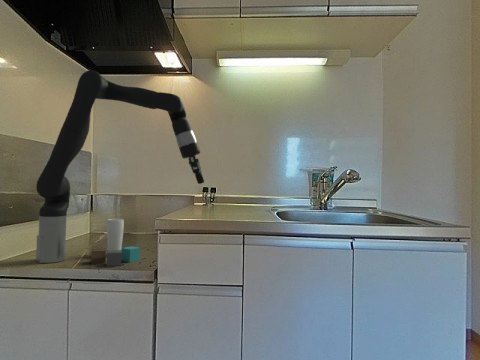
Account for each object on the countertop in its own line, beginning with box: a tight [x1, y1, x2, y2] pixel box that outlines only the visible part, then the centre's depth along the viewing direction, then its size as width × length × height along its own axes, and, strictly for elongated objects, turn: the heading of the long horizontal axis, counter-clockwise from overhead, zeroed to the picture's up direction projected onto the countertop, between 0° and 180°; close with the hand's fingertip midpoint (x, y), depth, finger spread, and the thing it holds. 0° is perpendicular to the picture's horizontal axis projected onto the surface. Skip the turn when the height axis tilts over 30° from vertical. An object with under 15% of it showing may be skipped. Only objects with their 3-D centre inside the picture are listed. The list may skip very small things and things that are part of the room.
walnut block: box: [90, 247, 107, 265], centre depth 129 cm, size 5×5×5 cm
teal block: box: [121, 245, 141, 263], centre depth 133 cm, size 5×5×5 cm
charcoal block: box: [106, 249, 122, 268], centre depth 126 cm, size 5×5×5 cm
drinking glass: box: [106, 218, 125, 250], centre depth 142 cm, size 7×7×15 cm
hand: (201, 183), depth 133 cm, fingers open, 8 cm apart
